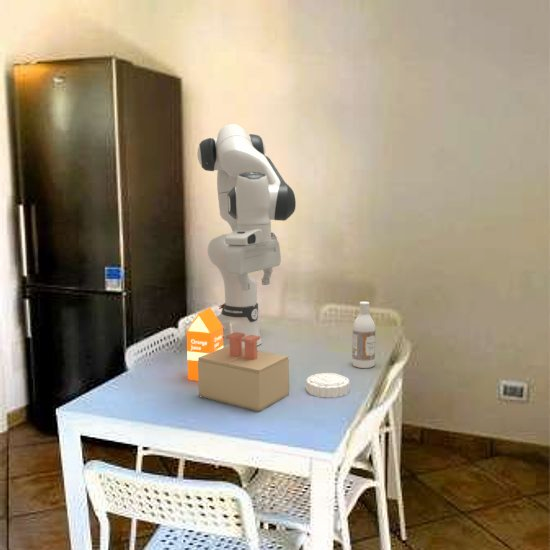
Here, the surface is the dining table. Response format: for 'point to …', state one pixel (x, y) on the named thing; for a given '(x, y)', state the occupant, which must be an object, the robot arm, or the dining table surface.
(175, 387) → the dining table surface
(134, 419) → the dining table surface
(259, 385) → the carton
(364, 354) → the bath foam
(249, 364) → the flap right
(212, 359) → the flap left
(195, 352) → the orange juice
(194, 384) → the dining table surface
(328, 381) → the mooncake
